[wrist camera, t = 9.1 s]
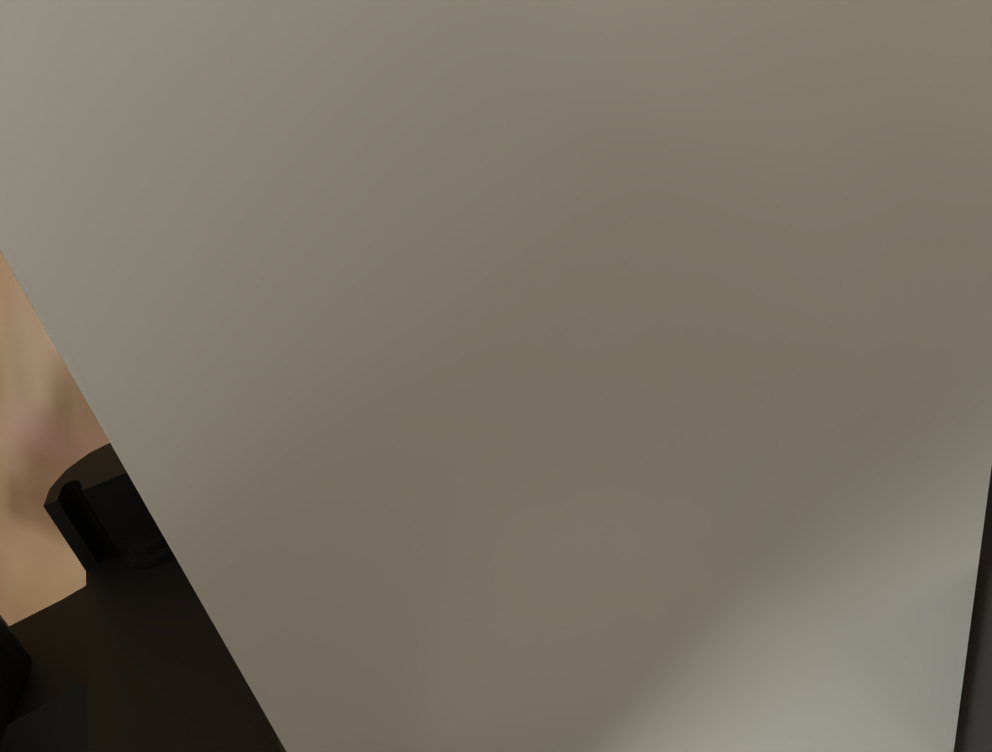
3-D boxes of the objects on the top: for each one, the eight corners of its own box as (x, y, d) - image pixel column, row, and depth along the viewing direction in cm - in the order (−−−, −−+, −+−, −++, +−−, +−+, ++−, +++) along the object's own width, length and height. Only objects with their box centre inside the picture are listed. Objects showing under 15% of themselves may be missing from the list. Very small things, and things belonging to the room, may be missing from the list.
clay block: (421, 510, 20) (535, 1188, 10) (176, -208, 12) (-457, -546, 2) (608, 457, 20) (912, 1065, 10) (478, -282, 13) (1169, -896, 2)
